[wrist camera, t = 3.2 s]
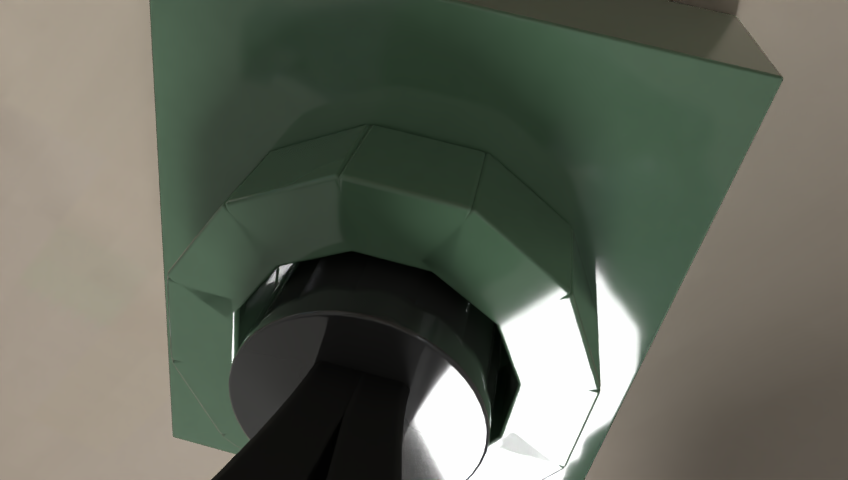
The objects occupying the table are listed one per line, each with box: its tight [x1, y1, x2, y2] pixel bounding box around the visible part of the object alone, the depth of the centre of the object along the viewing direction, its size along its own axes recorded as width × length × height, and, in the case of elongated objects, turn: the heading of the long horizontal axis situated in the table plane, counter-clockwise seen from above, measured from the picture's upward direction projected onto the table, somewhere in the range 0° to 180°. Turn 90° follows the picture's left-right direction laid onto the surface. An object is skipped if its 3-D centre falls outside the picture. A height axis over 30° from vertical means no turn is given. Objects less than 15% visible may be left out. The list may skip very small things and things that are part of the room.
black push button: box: [229, 251, 502, 480], centre depth 11 cm, size 4×4×2 cm
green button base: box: [150, 0, 783, 480], centre depth 13 cm, size 11×9×5 cm
